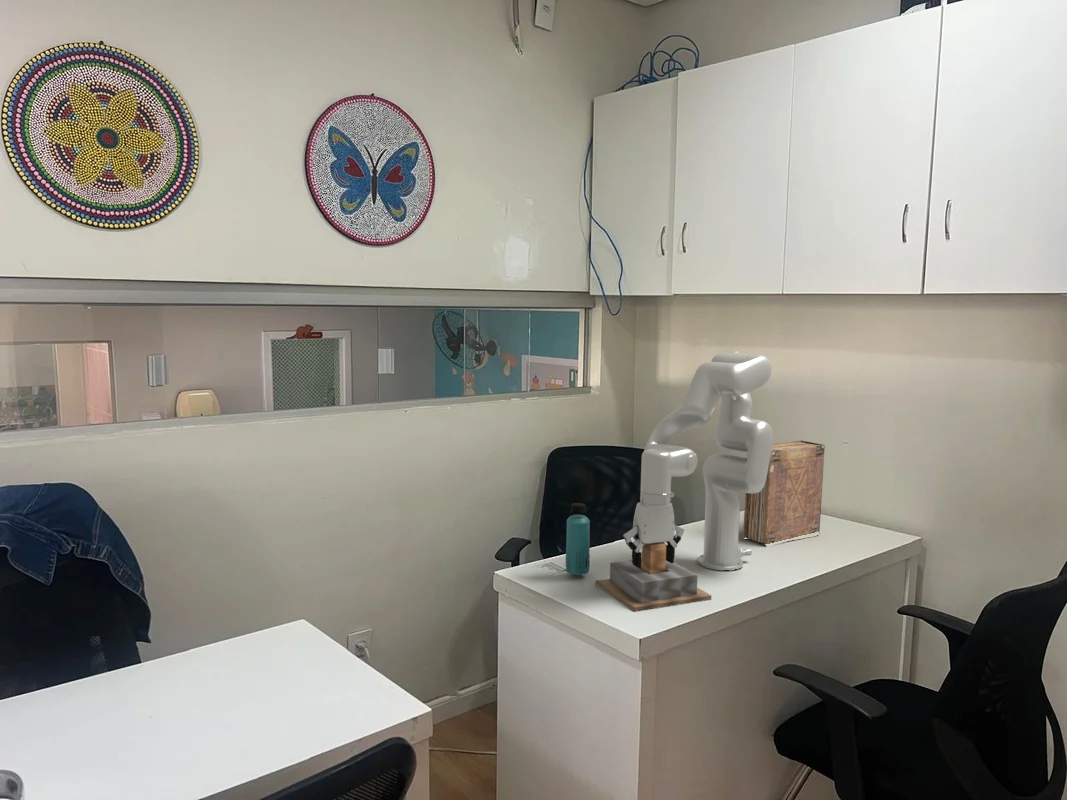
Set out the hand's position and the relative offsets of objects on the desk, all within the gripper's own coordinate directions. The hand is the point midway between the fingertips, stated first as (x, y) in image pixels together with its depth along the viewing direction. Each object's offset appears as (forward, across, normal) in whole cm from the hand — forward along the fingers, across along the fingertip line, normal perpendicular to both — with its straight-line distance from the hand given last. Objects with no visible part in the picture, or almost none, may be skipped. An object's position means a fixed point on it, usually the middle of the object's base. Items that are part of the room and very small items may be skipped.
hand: (653, 563), depth 198 cm
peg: (+6, 0, 0) cm, 6 cm away
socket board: (+7, 0, 0) cm, 7 cm away
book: (+8, -65, -27) cm, 71 cm away
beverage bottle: (+7, +13, -17) cm, 23 cm away
